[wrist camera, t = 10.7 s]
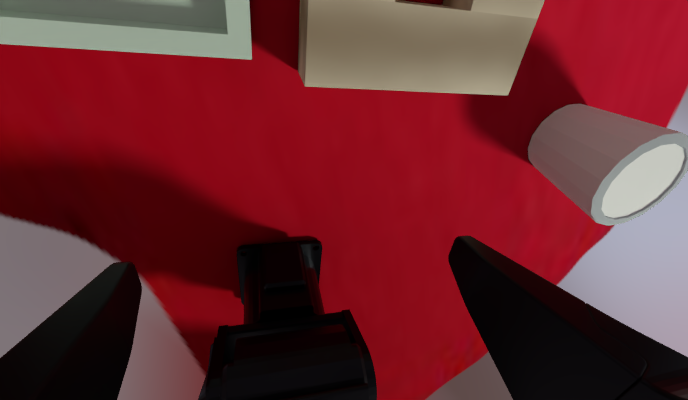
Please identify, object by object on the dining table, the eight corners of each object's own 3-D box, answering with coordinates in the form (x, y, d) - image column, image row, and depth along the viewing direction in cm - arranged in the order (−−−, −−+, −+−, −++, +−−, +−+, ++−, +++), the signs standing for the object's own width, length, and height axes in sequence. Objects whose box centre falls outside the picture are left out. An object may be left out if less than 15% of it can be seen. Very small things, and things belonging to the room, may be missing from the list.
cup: (526, 109, 24) (610, 152, 18) (611, 84, 24) (718, 119, 19) (515, 184, 28) (580, 238, 23) (587, 162, 29) (669, 209, 23)
